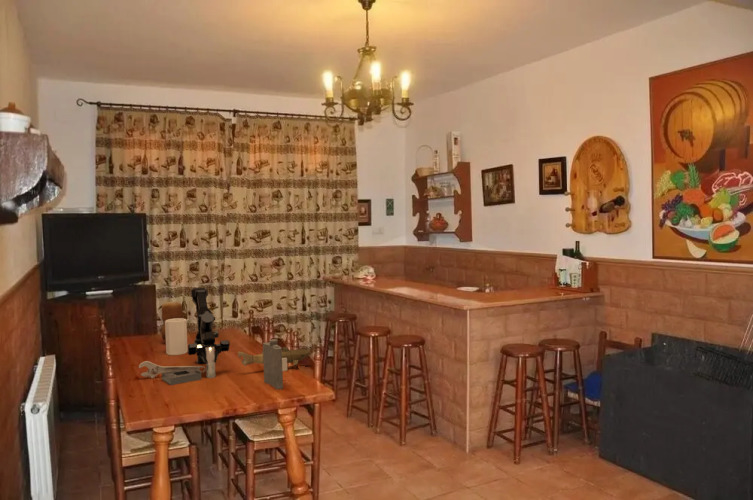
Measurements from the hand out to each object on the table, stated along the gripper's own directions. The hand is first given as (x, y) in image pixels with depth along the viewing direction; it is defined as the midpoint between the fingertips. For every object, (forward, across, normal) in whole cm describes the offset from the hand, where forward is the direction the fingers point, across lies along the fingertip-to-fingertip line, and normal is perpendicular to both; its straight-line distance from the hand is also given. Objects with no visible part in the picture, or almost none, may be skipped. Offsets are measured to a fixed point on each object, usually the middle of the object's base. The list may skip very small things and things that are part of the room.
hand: (210, 362), depth 274 cm
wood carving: (+6, +30, +4) cm, 30 cm away
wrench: (-4, -16, +14) cm, 22 cm away
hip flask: (+23, +24, -13) cm, 35 cm away
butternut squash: (-60, -11, +70) cm, 93 cm away
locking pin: (+4, 0, +6) cm, 7 cm away
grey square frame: (+3, -13, +7) cm, 15 cm away
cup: (-38, -11, +49) cm, 63 cm away
